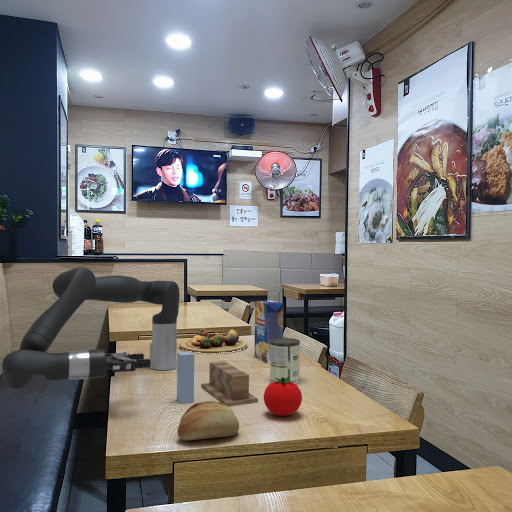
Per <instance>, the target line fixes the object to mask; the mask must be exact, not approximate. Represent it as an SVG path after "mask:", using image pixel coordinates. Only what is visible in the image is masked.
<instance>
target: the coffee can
mask: <svg viewBox="0 0 512 512" xmlns="http://www.w3.org/2000/svg"><path fill="white" fill-rule="evenodd" d="M300 343H301V341H300V339H298V338H291V337H283V338H275V339H271V340H270V363H269V367H270V369H269V371H270V372H269V375H270V376H269V381H271V382H275V381H278V380H276V379H275V377H276V378H278V379H281V378H282V377H284V378H287V377H289V379H288V381H292V382H293V383H294V384H296V385H297V384H299V383H300ZM272 380H273V381H272ZM271 382H270V383H271Z"/></svg>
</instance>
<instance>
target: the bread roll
mask: <svg viewBox="0 0 512 512" xmlns="http://www.w3.org/2000/svg"><path fill="white" fill-rule="evenodd" d="M239 431H240V423H239V419H238V417H237V416H236V415H235V413H234V411H233V410H232V408H231V407H230V406H227V405H226V404H223V403H221V402H220V401H216V400H207V401H200V402H196V403H193V404H192V405H191V406H190V407H188V408H187V410H186V411H185V413H183V415H182V416H181V418H180V421H179V425H178V427H177V437H178V438H179V439H180V440H182V441H186V442H187V441H194V440H195V441H196V440H197V441H198V440H205V439H214V438H215V439H217V438H226V437H233V436H235V435H236V434H238V432H239Z"/></svg>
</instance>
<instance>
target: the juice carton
mask: <svg viewBox="0 0 512 512" xmlns="http://www.w3.org/2000/svg"><path fill="white" fill-rule="evenodd" d="M275 338H284V302H280V301H275V300H255V301H254V358H255V357H256V358H255V359H257V358H258V359H257V360H259V359H260V360H259V361H261V360H262V361H261V362H263V361H264V362H263V363H265V364H270V340H271V339H275Z"/></svg>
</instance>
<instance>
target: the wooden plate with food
mask: <svg viewBox="0 0 512 512" xmlns="http://www.w3.org/2000/svg"><path fill="white" fill-rule="evenodd" d="M208 333H209V332H208V331H207V329H205V328H203V327H201V328H198V330H196V332H195V335H194V336H193V337H192V338H190V339H186V340H183V341H181V342H180V343H179V346H180V347H179V349H180V348H182V349H184V350H187V351H192V352H201V353H219V352H220V353H221V352H232V351H237V350H240V349H243V348H245V347H246V346H247V347H248V343H247V342H246V341H245V340H243V339H240V334H239V333H238V332H237V331H236V330H234V329H231V328H230V330H229V331H228V332H227V335H224V334H220V333H219V332H215V333H214V332H212V333H209V334H208ZM182 349H181V350H182ZM201 353H200V354H201Z"/></svg>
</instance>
